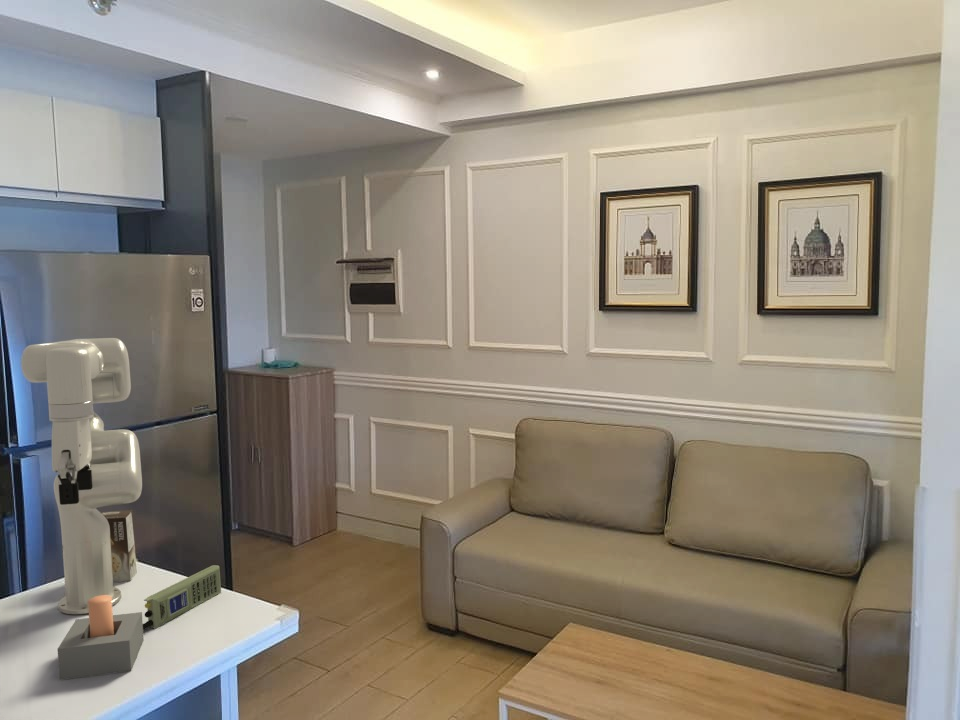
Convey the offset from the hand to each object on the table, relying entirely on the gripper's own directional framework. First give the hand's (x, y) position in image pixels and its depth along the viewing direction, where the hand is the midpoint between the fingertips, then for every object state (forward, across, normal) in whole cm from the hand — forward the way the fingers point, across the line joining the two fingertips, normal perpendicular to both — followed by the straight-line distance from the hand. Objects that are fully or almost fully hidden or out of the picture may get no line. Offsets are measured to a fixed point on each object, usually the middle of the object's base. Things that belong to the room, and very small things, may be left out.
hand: (76, 496), depth 142 cm
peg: (+30, +8, +5) cm, 32 cm away
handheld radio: (+31, -9, +16) cm, 36 cm away
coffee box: (+31, -34, -2) cm, 46 cm away
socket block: (+30, +8, +5) cm, 32 cm away
